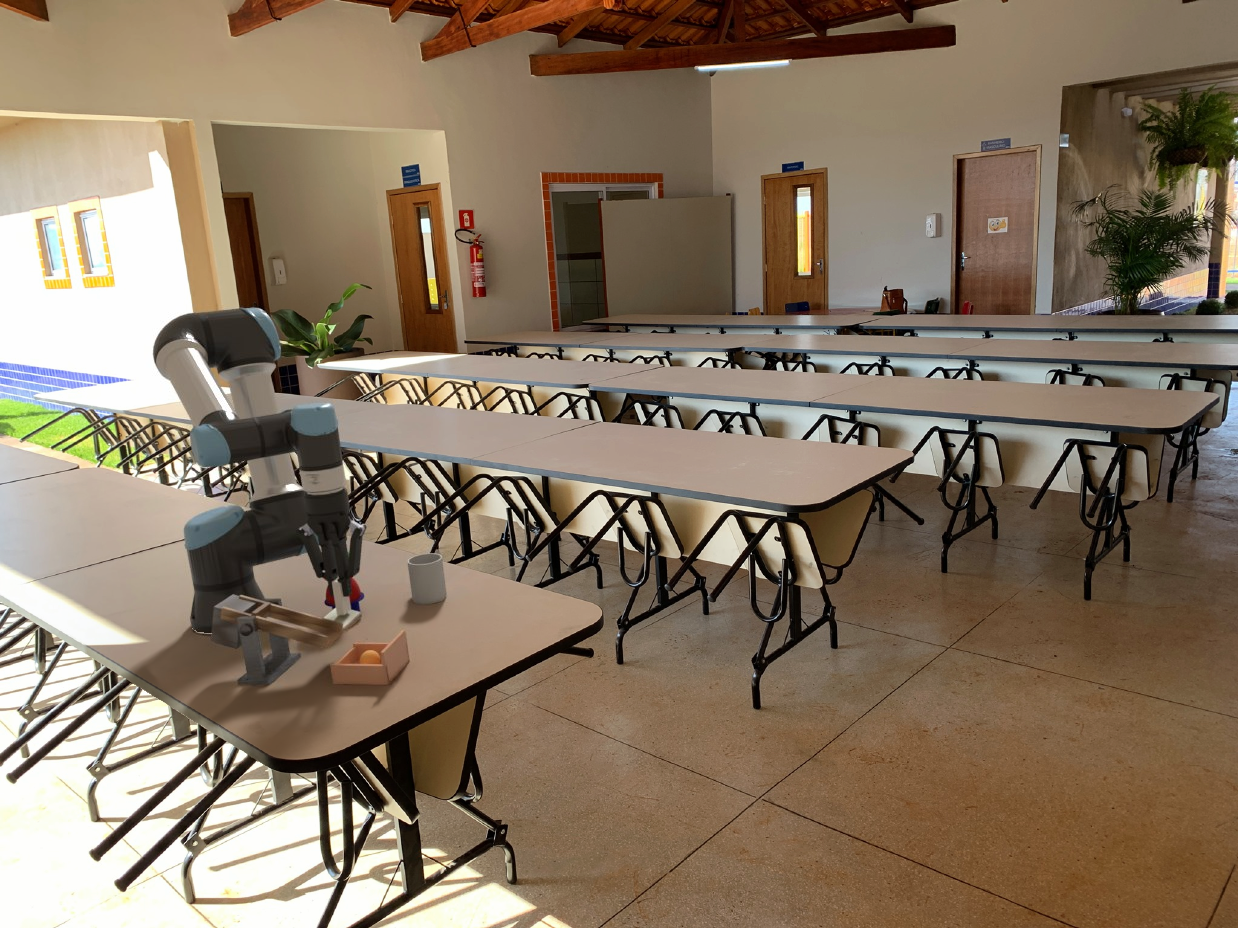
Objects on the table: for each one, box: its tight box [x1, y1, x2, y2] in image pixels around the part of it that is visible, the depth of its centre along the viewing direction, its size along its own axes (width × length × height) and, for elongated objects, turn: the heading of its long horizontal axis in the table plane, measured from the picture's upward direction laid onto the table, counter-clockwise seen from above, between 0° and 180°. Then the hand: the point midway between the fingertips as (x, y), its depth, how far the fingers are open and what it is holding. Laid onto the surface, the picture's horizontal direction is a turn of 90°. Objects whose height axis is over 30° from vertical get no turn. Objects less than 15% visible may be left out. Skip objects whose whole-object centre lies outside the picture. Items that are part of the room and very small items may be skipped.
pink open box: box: [330, 629, 410, 686], centre depth 160 cm, size 10×9×6 cm
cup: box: [407, 552, 447, 606], centre depth 194 cm, size 7×10×9 cm
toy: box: [312, 551, 365, 612], centre depth 186 cm, size 9×9×15 cm
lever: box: [210, 594, 363, 650], centre depth 166 cm, size 22×14×8 cm, turn 80°
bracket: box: [236, 598, 302, 686], centre depth 163 cm, size 6×11×12 cm, turn 170°
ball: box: [360, 650, 380, 664], centre depth 160 cm, size 4×4×4 cm
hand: (344, 612), depth 168 cm, fingers closed
